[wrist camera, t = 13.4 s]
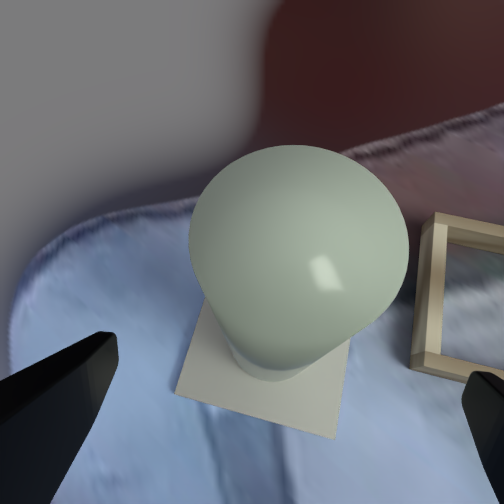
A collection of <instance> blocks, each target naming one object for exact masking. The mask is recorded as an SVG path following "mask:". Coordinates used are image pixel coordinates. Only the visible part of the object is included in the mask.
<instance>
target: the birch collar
mask: <svg viewBox="0 0 504 504" xmlns="http://www.w3.org/2000/svg"><path fill="white" fill-rule="evenodd" d="M447 242H449V243H453V244H458V245H462V246H467V247H471V248H476V249H481V250H485V251H490V252H494V253H499V254H503V255H504V226H501V225H496V224H491V223H486V222H482V221H477V220H472V219H467V218H463V217H458V216H453V215H448V214H444V213H439V212H434V214H433V215H432V216H431V217H430V218H429V219H428V220H427V221H426V222H425V223H424V224H423V225H422V229H421V240H420V252H419V263H418V275H417V286H416V298H415V309H414V321H413V332H412V344H411V355H410V367H409V369H411V370H415V371H418V372H422V373H426V374H430V375H434V376H438V377H442V378H446V379H449V380H453V381H457V382H461V383H465V384H466V383H467V381H468V378H469V375H470V373H471V372H473V371H485V372H491V373H493V374H495V375H497V376H498V377H500V378H501V379H503V380H504V371H503V370H499V369H495V368H491V367H487V366H483V365H479V364H475V363H471V362H467V361H463V360H460V359H456V358H452V357H448V356H444V355H440V352H441V334H442V317H443V299H444V281H445V263H446V245H447Z"/></svg>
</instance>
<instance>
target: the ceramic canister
mask: <svg viewBox="0 0 504 504" xmlns="http://www.w3.org/2000/svg"><path fill="white" fill-rule="evenodd" d="M189 253H190V259H191V263H192V267H193V270H194V273H195V276H196V278H197V280H198V282H199V284H200V286H201V288H202V291H203V293H204V295H205V297H206V299H207V301H208V303H209V305H210V307H211V310H212V312H213V314H214V316H215V318H216V320H217V322H218V324H219V326H220V329H221V331H222V333H223V335H224V337H225V339H226V341H227V343H228V345H229V348H230V350H231V352H232V354H233V356H234V358H235V360H236V361H237V363H238V365H239V366H240V367H241V368H242V369H243V370H244V371H245V372H246V373H248V374H249V375H251V376H252V377H254V378H256V379H259V380H262V381H267V382H279V381H284V380H287V379H290V378H292V377H294V376H295V375H297V374H298V373H300V372H301V371H303V370H304V369H306V368H307V367H309V366H310V365H311V364H313V363H314V362H316V361H317V360H319V359H320V358H322V357H323V356H325V355H326V354H327V353H329V352H330V351H332V350H333V349H335V348H336V347H338V346H339V345H341V344H342V343H344V342H345V341H346V340H348V339H349V338H351V337H352V336H354V335H355V334H357V333H358V332H360V331H361V330H362V329H364V328H365V327H367V326H368V325H369V324H371V323H372V322H373V321H375V320H376V319H377V318H378V317H379V316H380V315H381V314H382V313H383V312H384V311H385V310H386V309H387V308H388V307H389V305H390V304H391V303H392V301H393V300H394V299H395V297H396V295H397V293H398V291H399V290H400V288H401V286H402V283H403V280H404V277H405V274H406V271H407V265H408V260H409V241H408V233H407V229H406V225H405V221H404V218H403V216H402V213H401V211H400V209H399V207H398V205H397V203H396V201H395V200H394V198H393V196H392V195H391V194H390V192H389V191H388V190H387V188H386V187H385V186H384V185H383V184H382V183H381V182H380V181H379V180H378V179H377V177H376V176H374V175H373V174H372V173H371V172H369V171H368V170H367V169H366V168H364V167H363V166H361V165H360V164H358V163H357V162H355V161H353V160H351V159H349V158H347V157H345V156H343V155H341V154H338V153H335V152H333V151H330V150H325V149H322V148H318V147H311V146H301V145H286V146H276V147H271V148H266V149H263V150H259V151H256V152H253V153H251V154H248V155H246V156H243V157H242V158H240V159H238V160H236V161H235V162H233V163H231V164H230V165H228V166H227V167H226V168H224V169H223V170H222V171H221V172H220V173H219V174H218V175H216V177H214V178H213V179H212V181H211V182H210V183H209V184H208V186H207V187H206V188H205V190H204V191H203V193H202V194H201V196H200V198H199V200H198V202H197V204H196V206H195V209H194V211H193V215H192V218H191V222H190V229H189Z"/></svg>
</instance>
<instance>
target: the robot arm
mask: <svg viewBox="0 0 504 504" xmlns="http://www.w3.org/2000/svg"><path fill="white" fill-rule="evenodd" d="M118 361H119V356H118V346H117V337H116V334H115V333H113V332H104V331H99V332H96V333H94V334H92V335H90V336H88V337H86V338H84V339H82V340H81V341H79V342H77V343H75V344H73V345H71V346H69V347H67V348H65V349H63V350H61V351H59V352H57V353H55V354H53V355H51V356H49V357H47V358H45V359H43V360H41V361H39V362H37V363H35V364H33V365H31V366H29V367H27V368H25V369H23V370H21V371H19V372H17V373H15V374H13V375H11V376H9V377H7V378H5V379H3V380H1V381H0V504H50V503H51V501H52V499H53V497H54V495H55V493H56V492H57V490H58V488H59V486H60V484H61V483H62V481H63V479H64V477H65V475H66V473H67V472H68V470H69V468H70V466H71V464H72V462H73V461H74V459H75V457H76V455H77V453H78V451H79V450H80V448H81V446H82V444H83V442H84V440H85V439H86V437H87V435H88V433H89V431H90V429H91V427H92V425H93V423H94V421H95V419H96V417H97V415H98V412H99V410H100V408H101V405H102V403H103V400H104V398H105V396H106V393H107V391H108V388H109V386H110V384H111V381H112V379H113V376H114V374H115V372H116V369H117V366H118ZM462 407H463V410H464V413H465V416H466V419H467V422H468V424H469V427H470V430H471V433H472V436H473V439H474V442H475V445H476V448H477V451H478V454H479V457H480V460H481V462H482V465H483V468H484V470H485V472H486V475H487V477H488V479H489V481H490V484H491V486H492V488H493V490H494V493H495V495H496V497H497V499H498V501H499V504H504V380H503V379H501V378H500V377H498V376H497V375H495V374H493V373H491V372H485V371H473V372H471V373H470V375H469V378H468V381H467V383H466V386H465V389H464V391H463V394H462Z"/></svg>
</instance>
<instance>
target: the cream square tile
mask: <svg viewBox="0 0 504 504" xmlns="http://www.w3.org/2000/svg"><path fill="white" fill-rule="evenodd" d="M349 344H350V338H349V339H348V340H346V341H345V342H344V343H342V344H341V345H339V346H338V347H336V348H335V349H333V350H332V351H330V352H329V353H327V354H326V355H325V356H323V357H322V358H320V359H319V360H317V361H316V362H314V363H313V364H311V365H310V366H309V367H307V368H306V369H304V370H303V371H301V372H300V373H298V374H297V375H295V376H294V377H292V378H290V379H287V380H284V381H279V382H267V381H262V380H259V379H256V378H254V377H252V376H251V375H249V374H248V373H246V372H245V371H244V370H243V369H242V368H241V367H240V366H239V365H238V363H237V361H236V360H235V358H234V356H233V354H232V352H231V350H230V348H229V345H228V343H227V341H226V339H225V337H224V335H223V333H222V331H221V329H220V326H219V324H218V322H217V320H216V318H215V316H214V314H213V312H212V310H211V307H210V305H209V303H208V301H207V299H206V297H205V299H204V302H203V305H202V308H201V311H200V314H199V317H198V321H197V324H196V327H195V330H194V333H193V336H192V339H191V343H190V346H189V349H188V352H187V355H186V358H185V361H184V365H183V368H182V371H181V374H180V377H179V380H178V383H177V387H176V390H175V393H174V394H175V395H179V396H182V397H186V398H189V399H193V400H196V401H200V402H203V403H207V404H210V405H214V406H217V407H221V408H224V409H228V410H231V411H235V412H238V413H242V414H245V415H249V416H252V417H256V418H260V419H263V420H267V421H270V422H274V423H277V424H281V425H284V426H288V427H291V428H295V429H298V430H302V431H305V432H309V433H312V434H316V435H319V436H323V437H326V438H330V439H333V440H335V436H336V430H337V423H338V416H339V410H340V403H341V397H342V390H343V383H344V377H345V370H346V364H347V357H348V351H349Z"/></svg>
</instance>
